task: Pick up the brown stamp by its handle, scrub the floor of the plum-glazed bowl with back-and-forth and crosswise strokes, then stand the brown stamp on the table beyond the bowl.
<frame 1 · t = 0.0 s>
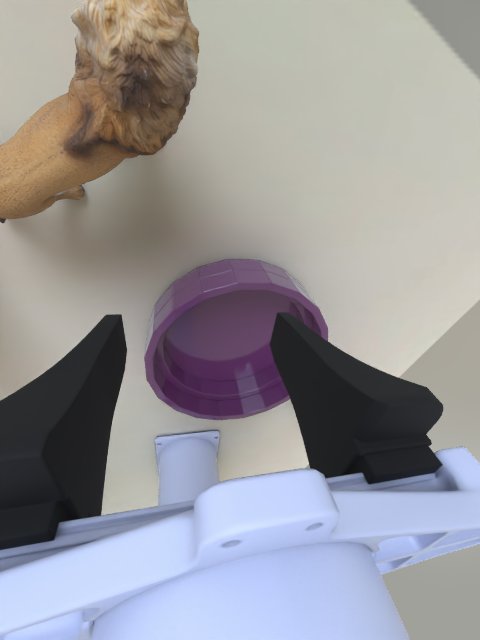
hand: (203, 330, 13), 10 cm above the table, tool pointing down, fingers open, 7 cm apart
bowl: (232, 330, 27), on the table
lion figurine: (87, 127, 16), on the table
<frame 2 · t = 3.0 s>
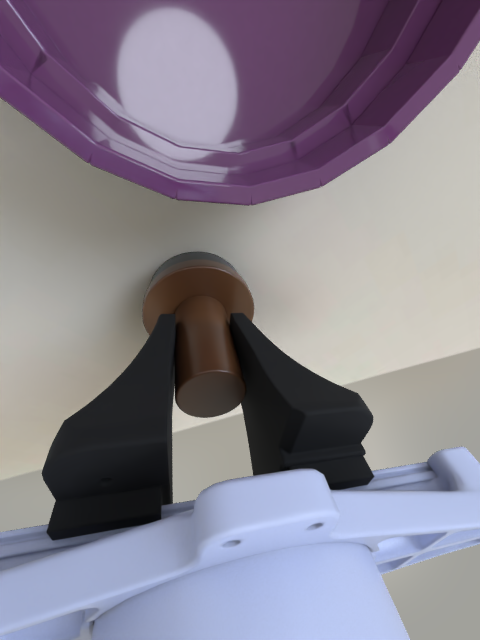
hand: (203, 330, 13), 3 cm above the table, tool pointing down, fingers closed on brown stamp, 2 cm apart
brown stamp: (197, 294, 16), on the table, touching gripper
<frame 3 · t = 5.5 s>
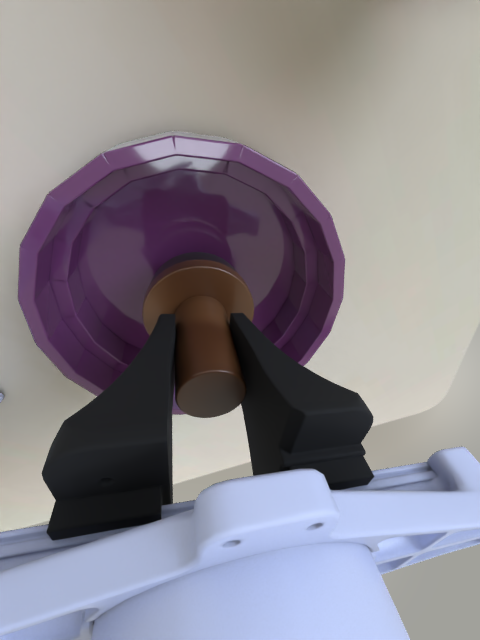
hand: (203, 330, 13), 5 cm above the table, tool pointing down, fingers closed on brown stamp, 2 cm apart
bowl: (194, 277, 17), on the table
brown stamp: (197, 295, 16), point 2 cm above the table, touching gripper
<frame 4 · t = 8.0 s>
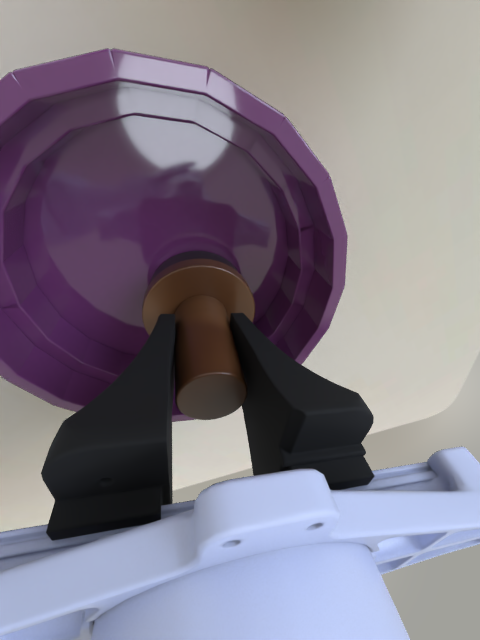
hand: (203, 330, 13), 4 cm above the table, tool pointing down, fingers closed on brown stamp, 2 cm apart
bowl: (170, 263, 15), on the table
brown stamp: (197, 294, 15), point 1 cm above the table, touching gripper
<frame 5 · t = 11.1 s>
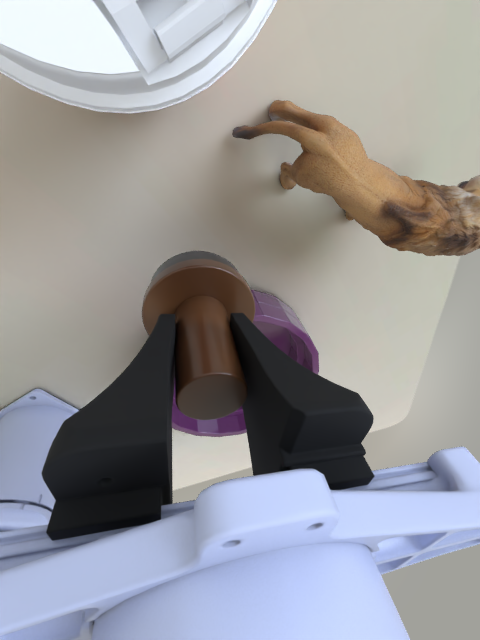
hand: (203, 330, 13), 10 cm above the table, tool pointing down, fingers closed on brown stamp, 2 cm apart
bowl: (228, 352, 28), on the table
lion figurine: (334, 169, 20), on the table
paper cup: (139, 17, 14), on the table
brown stamp: (197, 294, 15), point 7 cm above the table, touching gripper
when the fingers open (3 cm above the table, at t = 13.3 s): brown stamp stays where it is, on the table.
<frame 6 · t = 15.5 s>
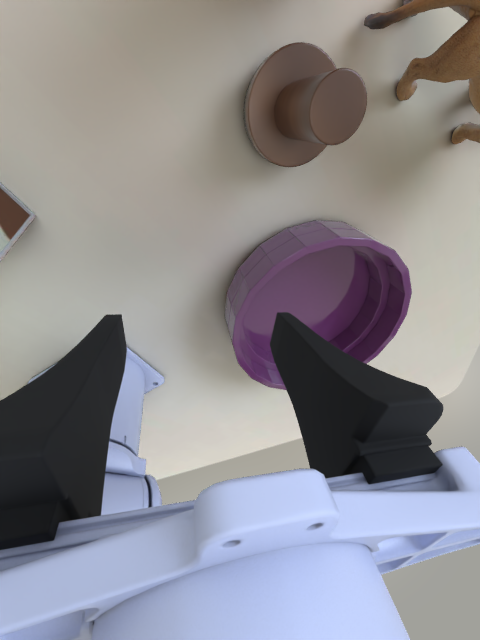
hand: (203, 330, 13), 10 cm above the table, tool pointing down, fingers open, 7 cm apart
bowl: (303, 299, 26), on the table
lion figurine: (450, 80, 18), on the table
brown stamp: (283, 111, 17), on the table
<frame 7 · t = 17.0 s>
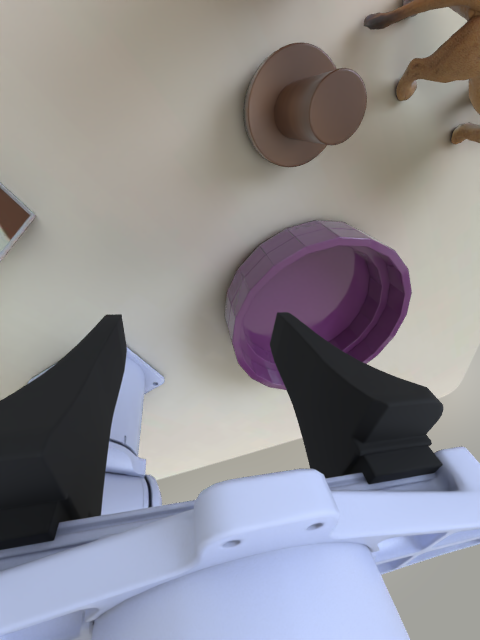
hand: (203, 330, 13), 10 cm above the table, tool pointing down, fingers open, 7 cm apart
bowl: (302, 299, 26), on the table
lion figurine: (450, 80, 18), on the table
brown stamp: (283, 112, 17), on the table
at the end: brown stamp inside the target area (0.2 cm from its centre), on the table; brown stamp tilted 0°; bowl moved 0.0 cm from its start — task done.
